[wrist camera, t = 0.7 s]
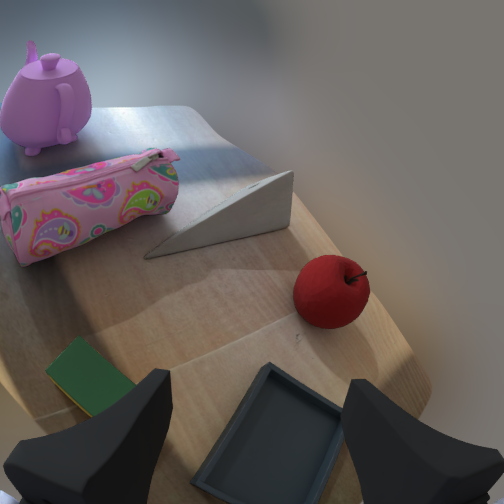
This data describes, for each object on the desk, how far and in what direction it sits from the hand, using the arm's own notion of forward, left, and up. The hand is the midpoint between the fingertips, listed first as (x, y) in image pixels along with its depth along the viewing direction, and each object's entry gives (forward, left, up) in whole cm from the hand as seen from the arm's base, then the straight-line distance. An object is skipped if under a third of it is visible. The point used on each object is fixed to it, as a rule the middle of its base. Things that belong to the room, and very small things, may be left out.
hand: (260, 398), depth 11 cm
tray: (+4, -9, -18) cm, 21 cm away
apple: (+23, -6, -18) cm, 30 cm away
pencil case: (+12, +22, -18) cm, 31 cm away
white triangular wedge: (+24, +9, -18) cm, 32 cm away
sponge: (-1, +8, -18) cm, 20 cm away
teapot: (+18, +44, -18) cm, 51 cm away
